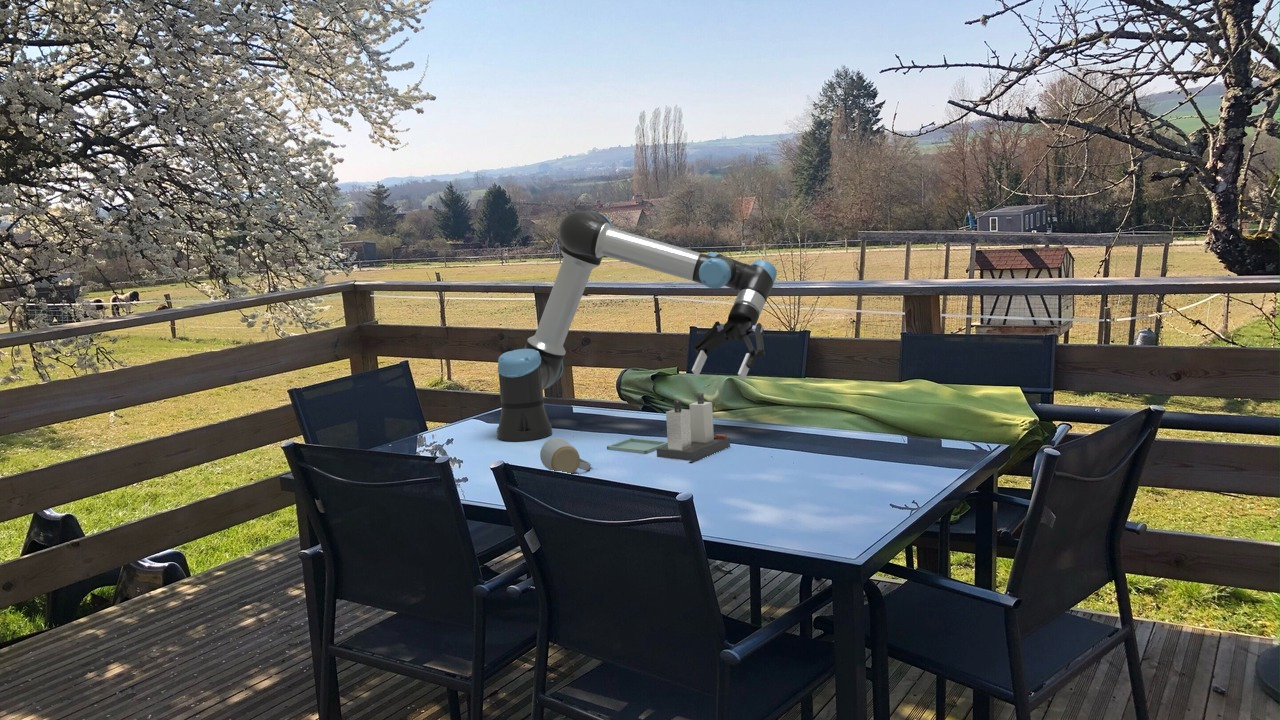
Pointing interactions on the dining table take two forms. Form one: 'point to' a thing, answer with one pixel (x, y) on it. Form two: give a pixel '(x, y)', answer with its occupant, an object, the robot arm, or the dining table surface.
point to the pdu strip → (696, 446)
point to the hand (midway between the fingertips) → (717, 375)
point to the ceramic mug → (561, 456)
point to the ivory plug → (701, 420)
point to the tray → (637, 445)
